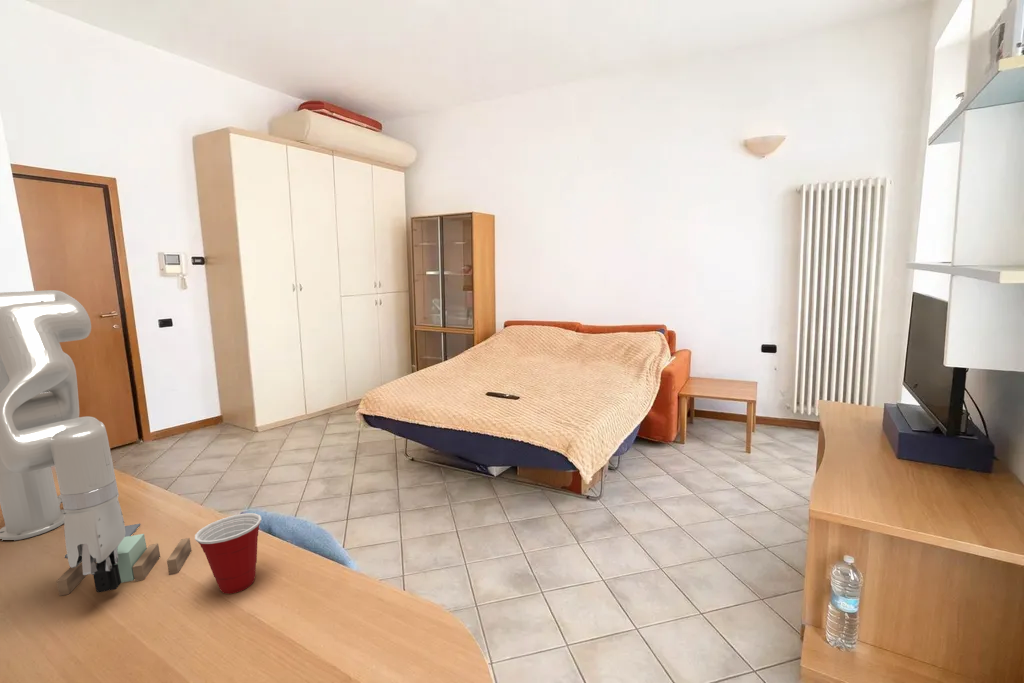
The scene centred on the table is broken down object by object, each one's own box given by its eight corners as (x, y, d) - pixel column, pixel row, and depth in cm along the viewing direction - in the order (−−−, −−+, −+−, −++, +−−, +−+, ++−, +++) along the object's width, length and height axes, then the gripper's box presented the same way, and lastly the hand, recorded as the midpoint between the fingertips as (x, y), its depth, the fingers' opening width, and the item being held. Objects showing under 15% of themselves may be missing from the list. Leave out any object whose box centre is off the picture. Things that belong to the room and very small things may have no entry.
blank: (126, 564, 101) (121, 537, 100) (148, 560, 102) (144, 533, 101) (109, 585, 94) (103, 556, 93) (133, 580, 95) (128, 552, 94)
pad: (90, 533, 113) (89, 531, 113) (140, 525, 116) (140, 523, 116) (65, 558, 104) (64, 555, 104) (120, 548, 107) (120, 546, 106)
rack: (82, 570, 99) (80, 557, 98) (191, 550, 104) (189, 537, 104) (59, 595, 91) (56, 581, 91) (177, 572, 97) (175, 559, 96)
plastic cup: (258, 559, 100) (250, 504, 98) (277, 581, 92) (269, 522, 90) (197, 585, 93) (187, 526, 91) (212, 612, 85) (202, 548, 83)
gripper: (88, 481, 93) (105, 569, 96) (38, 519, 79) (60, 621, 82) (134, 474, 95) (149, 561, 98) (93, 510, 81) (113, 610, 84)
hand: (109, 588), depth 90 cm, fingers closed
